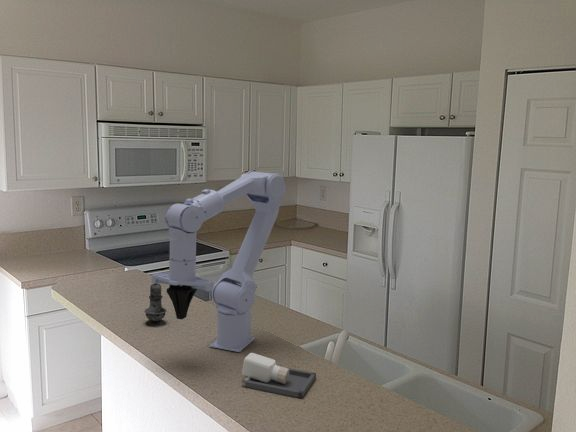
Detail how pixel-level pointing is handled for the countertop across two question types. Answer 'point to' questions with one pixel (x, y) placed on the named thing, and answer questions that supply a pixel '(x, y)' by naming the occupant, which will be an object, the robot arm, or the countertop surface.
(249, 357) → the pepper shaker
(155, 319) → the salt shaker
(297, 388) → the tray
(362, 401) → the countertop surface
